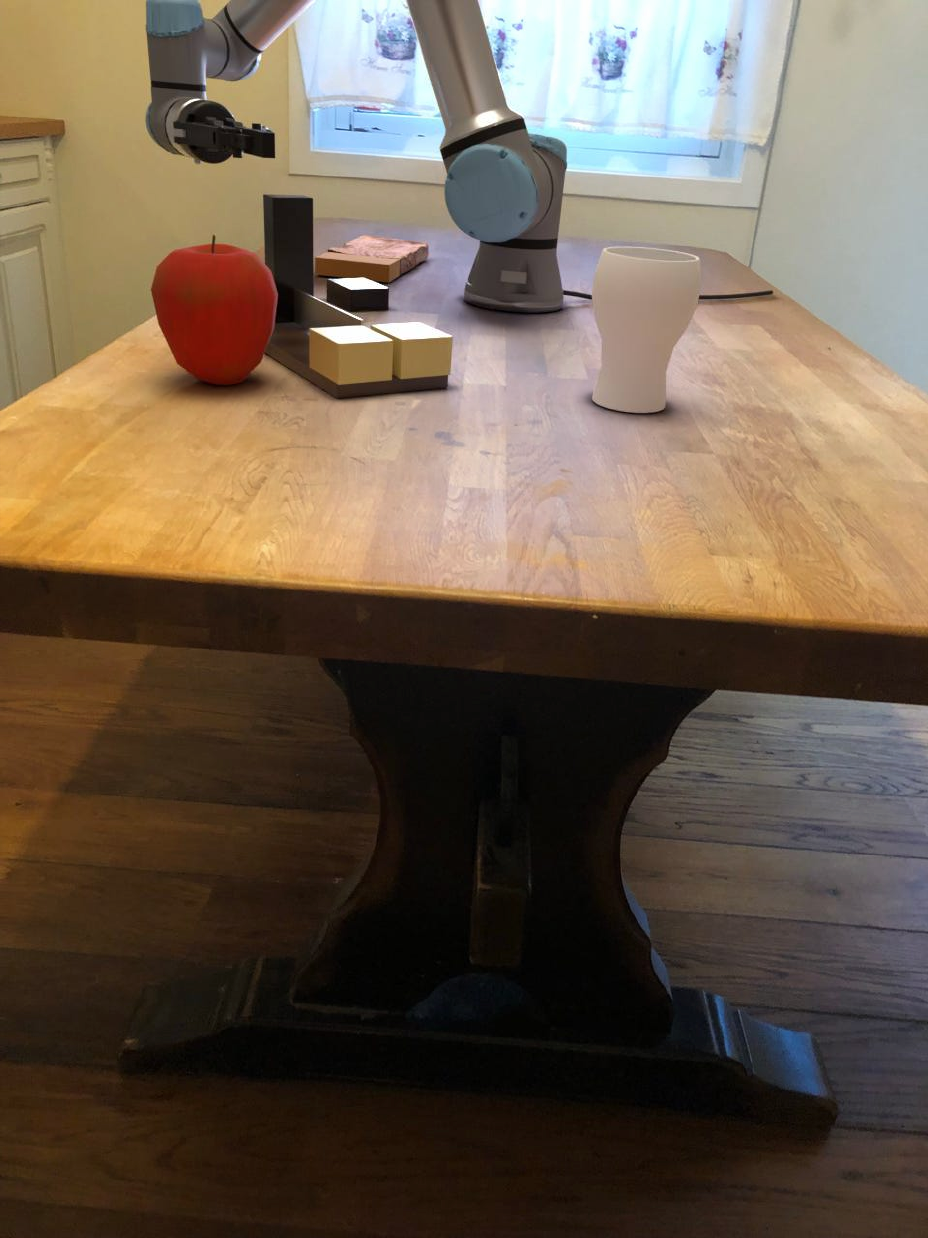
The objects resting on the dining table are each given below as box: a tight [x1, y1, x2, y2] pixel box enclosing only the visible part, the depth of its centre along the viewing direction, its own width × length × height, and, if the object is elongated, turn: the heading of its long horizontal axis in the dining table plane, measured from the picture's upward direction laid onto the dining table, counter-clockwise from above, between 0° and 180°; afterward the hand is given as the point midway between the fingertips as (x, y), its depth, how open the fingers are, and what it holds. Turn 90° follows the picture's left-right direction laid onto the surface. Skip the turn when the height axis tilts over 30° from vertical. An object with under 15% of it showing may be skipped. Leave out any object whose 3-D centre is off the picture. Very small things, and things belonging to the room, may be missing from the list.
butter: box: [309, 321, 454, 385], centre depth 99 cm, size 7×13×4 cm, turn 122°
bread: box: [314, 234, 430, 283], centre depth 166 cm, size 13×30×3 cm, turn 169°
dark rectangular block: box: [326, 278, 390, 312], centre depth 136 cm, size 8×6×3 cm
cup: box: [591, 245, 702, 414], centre depth 97 cm, size 11×11×15 cm
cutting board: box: [264, 323, 449, 399], centre depth 110 cm, size 34×13×2 cm, turn 32°
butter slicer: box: [262, 194, 364, 330], centre depth 107 cm, size 21×5×14 cm, turn 32°
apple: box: [150, 234, 278, 386], centre depth 94 cm, size 12×12×14 cm
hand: (269, 145), depth 112 cm, fingers closed
